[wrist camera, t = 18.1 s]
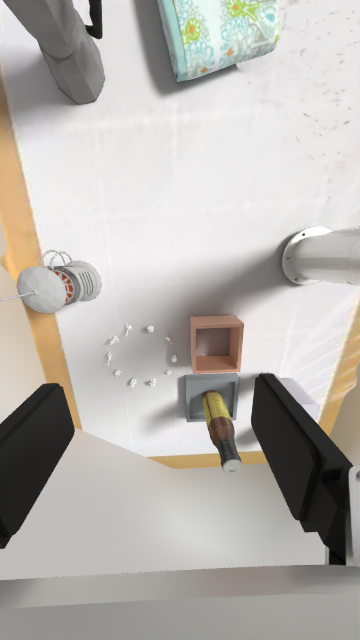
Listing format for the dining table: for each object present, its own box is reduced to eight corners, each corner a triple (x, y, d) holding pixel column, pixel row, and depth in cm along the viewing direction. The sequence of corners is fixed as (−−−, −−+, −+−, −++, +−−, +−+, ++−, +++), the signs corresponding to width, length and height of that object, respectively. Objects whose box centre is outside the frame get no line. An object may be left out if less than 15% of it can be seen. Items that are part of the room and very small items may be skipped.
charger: (280, 378, 54) (317, 420, 40) (249, 381, 54) (275, 424, 40) (281, 364, 53) (320, 403, 39) (249, 368, 53) (276, 407, 39)
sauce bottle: (210, 409, 56) (227, 484, 37) (196, 396, 55) (208, 469, 36) (227, 397, 55) (253, 469, 36) (213, 384, 53) (234, 452, 34)
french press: (61, 298, 46) (-64, 340, 22) (58, 249, 42) (-94, 235, 18) (101, 304, 46) (22, 351, 22) (102, 255, 43) (9, 251, 19)
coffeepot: (41, 94, 34) (-97, -76, 17) (41, 21, 31) (-125, -272, 14) (125, 120, 35) (77, -12, 18) (132, 53, 32) (84, -179, 15)
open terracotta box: (234, 314, 48) (243, 323, 41) (231, 357, 52) (239, 371, 45) (190, 316, 48) (192, 325, 41) (190, 359, 52) (193, 373, 45)
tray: (236, 372, 53) (239, 378, 51) (233, 413, 58) (235, 420, 56) (185, 375, 53) (185, 380, 51) (186, 415, 58) (186, 422, 56)
